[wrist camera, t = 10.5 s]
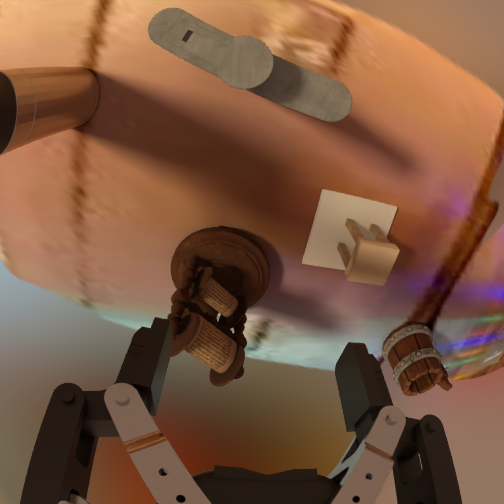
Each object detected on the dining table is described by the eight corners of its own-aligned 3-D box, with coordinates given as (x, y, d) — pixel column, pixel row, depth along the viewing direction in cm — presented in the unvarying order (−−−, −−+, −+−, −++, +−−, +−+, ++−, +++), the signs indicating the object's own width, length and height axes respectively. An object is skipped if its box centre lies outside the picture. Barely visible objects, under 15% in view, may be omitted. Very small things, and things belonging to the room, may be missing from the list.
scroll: (156, 262, 46) (111, 358, 29) (221, 202, 41) (194, 292, 24) (221, 316, 52) (208, 416, 34) (288, 269, 47) (302, 374, 29)
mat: (301, 262, 46) (301, 263, 45) (322, 188, 40) (323, 189, 39) (370, 272, 47) (371, 274, 46) (396, 206, 41) (397, 207, 40)
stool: (345, 215, 41) (362, 242, 34) (379, 223, 42) (399, 250, 35) (334, 249, 44) (347, 280, 37) (367, 255, 44) (383, 285, 38)
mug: (400, 313, 51) (437, 374, 39) (438, 319, 55) (472, 369, 43) (366, 353, 56) (394, 412, 44) (408, 354, 61) (434, 404, 49)
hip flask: (315, 93, 33) (372, 96, 16) (300, 119, 35) (341, 146, 18) (202, 39, 30) (149, -6, 13) (187, 66, 32) (121, 46, 14)
